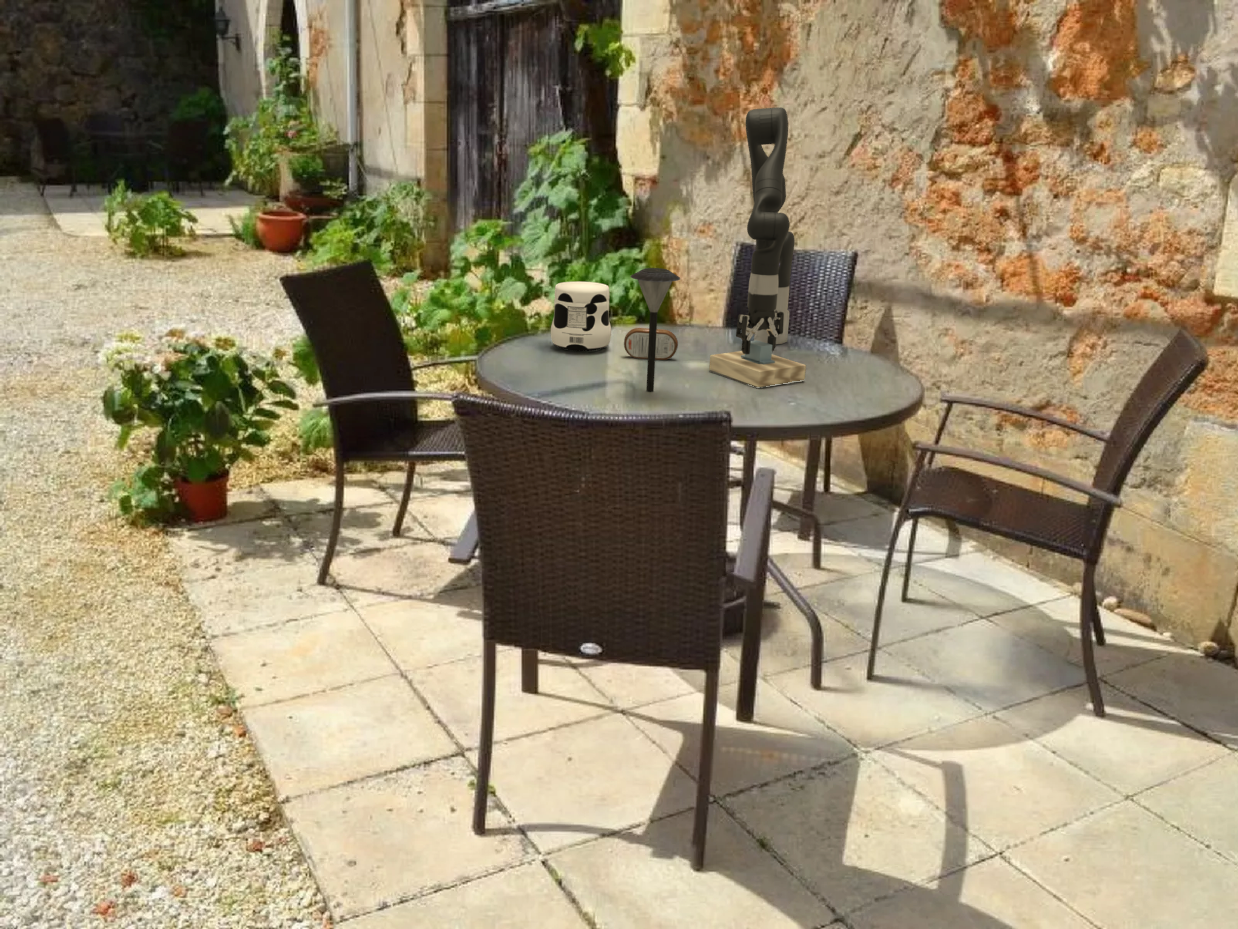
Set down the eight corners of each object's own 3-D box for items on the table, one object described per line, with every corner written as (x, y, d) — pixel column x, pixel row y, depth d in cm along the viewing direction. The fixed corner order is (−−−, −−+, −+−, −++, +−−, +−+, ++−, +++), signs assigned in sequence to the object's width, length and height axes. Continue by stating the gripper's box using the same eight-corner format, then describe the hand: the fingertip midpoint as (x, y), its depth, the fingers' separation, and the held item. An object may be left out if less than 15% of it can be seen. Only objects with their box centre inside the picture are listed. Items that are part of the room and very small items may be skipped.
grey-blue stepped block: (751, 368, 290) (753, 339, 287) (773, 375, 283) (776, 346, 280) (739, 369, 288) (741, 340, 285) (762, 377, 281) (764, 347, 278)
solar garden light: (679, 397, 263) (686, 274, 254) (630, 397, 261) (635, 274, 252) (668, 384, 275) (675, 266, 265) (621, 384, 273) (626, 265, 263)
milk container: (591, 339, 321) (593, 279, 315) (621, 352, 307) (624, 289, 301) (540, 344, 312) (540, 282, 306) (568, 357, 298) (569, 293, 292)
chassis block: (754, 365, 298) (755, 349, 296) (804, 381, 282) (806, 365, 281) (709, 371, 289) (710, 355, 288) (758, 388, 274) (759, 371, 272)
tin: (677, 359, 302) (678, 329, 299) (676, 361, 299) (678, 331, 296) (623, 356, 303) (624, 326, 300) (622, 358, 300) (623, 328, 297)
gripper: (774, 286, 285) (769, 346, 290) (732, 290, 277) (728, 351, 283) (793, 291, 279) (787, 352, 284) (751, 295, 271) (746, 358, 277)
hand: (758, 352), depth 283 cm, fingers open, 8 cm apart
